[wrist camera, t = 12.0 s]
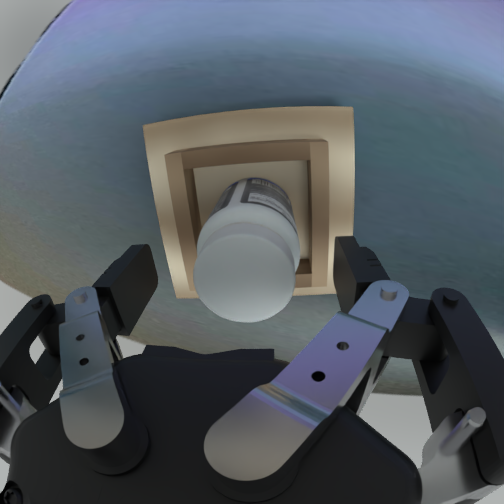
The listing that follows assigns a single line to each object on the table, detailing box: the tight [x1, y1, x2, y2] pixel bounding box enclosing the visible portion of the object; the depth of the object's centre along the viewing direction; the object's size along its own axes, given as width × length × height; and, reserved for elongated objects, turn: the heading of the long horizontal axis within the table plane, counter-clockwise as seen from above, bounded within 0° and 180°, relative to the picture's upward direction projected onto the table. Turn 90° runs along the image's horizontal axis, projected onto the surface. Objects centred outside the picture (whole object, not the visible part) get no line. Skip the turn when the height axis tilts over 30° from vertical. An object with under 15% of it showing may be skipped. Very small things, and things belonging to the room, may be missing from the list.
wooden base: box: [143, 106, 355, 298], centre depth 19 cm, size 13×13×5 cm
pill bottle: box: [193, 177, 300, 322], centre depth 15 cm, size 5×5×8 cm
